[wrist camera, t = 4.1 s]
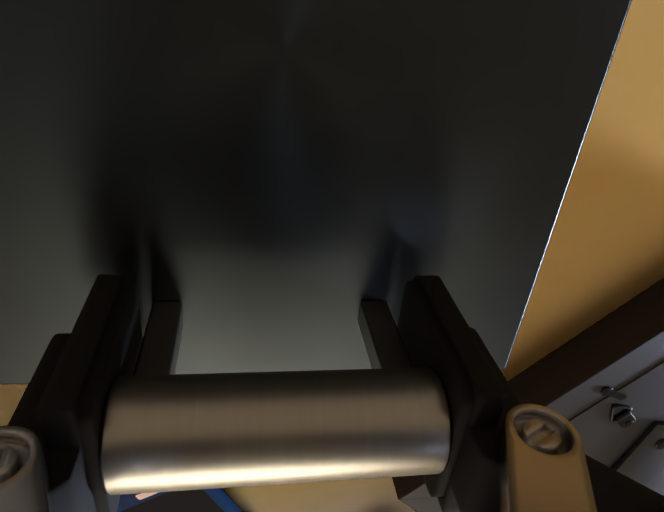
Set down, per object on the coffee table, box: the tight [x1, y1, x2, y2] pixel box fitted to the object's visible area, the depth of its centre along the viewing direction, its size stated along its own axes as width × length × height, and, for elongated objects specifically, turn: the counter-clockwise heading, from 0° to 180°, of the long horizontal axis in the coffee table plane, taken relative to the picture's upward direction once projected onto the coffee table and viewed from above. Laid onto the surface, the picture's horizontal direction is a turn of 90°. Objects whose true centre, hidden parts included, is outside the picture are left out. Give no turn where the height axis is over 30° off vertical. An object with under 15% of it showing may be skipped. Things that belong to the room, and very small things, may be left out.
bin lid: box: [0, 0, 632, 495], centre depth 8 cm, size 16×14×5 cm
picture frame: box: [392, 279, 664, 512], centre depth 38 cm, size 23×4×28 cm
